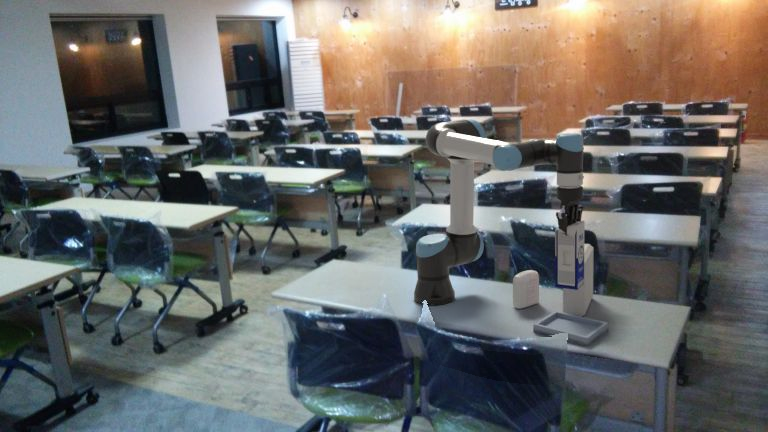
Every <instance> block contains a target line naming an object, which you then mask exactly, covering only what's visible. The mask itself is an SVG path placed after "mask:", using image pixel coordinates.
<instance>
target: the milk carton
mask: <svg viewBox="0 0 768 432" xmlns="http://www.w3.org/2000/svg"><path fill="white" fill-rule="evenodd" d="M585 223H586V222H585V220H581V221H578V222H576V223H573V224H572V225H569V226H568V227H567V236H566V235H565V234H563V233H565V232H563V231H562V230H561V229H559V227H557V228H555V230H554V233H555V234H554V239H555V240H554V242H555V243H554V247H555V248H554V249H555V250H554V251H555V253H554V255H555V256H554V257H555V258H554V259H555V261H554V262H555V264H554V265H555V266H554V270H555V272H554V273H555V276H554V277H555V283H554V286H555V288H557V289H558V288H561V289H563V288H566V289H574V290H578V289H579V288H580V287H581V286H582V285H583V284H584V244H585V225H586V224H585ZM562 232H563V233H562Z"/></svg>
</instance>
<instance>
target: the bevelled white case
mask: <svg viewBox="0 0 768 432" xmlns="http://www.w3.org/2000/svg"><path fill="white" fill-rule="evenodd" d="M594 249H595V248H594V246H592V245H591V244H590V243H584V284H583V285H582V286H581V287H580V288H579V289H578V290H574V289H566V288H562V312H563V313H567V314H572V315H576V316H580V317H584V316H585V315H586V314H587V313H586V312H587V310H588V308H589V306H590V303H591V301H592V299H593V297H594V251H595V250H594Z"/></svg>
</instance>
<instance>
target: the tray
mask: <svg viewBox="0 0 768 432" xmlns="http://www.w3.org/2000/svg"><path fill="white" fill-rule="evenodd" d="M532 325H533V327H532V328H533V329H532V331H533V333H537V334H540V335H544V336H547V335H555V334H559V333H568V340H569V341H568V342H570V341H573V342H572V343H574V342H575V344H578V345H582V346H586V347H588V346H589V345H591V344H592V343H594V341H596V340H598V338H600V337H602V335H604V334H605V333H607V332H608V331H609V322H607V321H602V320H598V319H593V318H588V317H584V316H582V317H580V316H576V315H572V314H567V313H563V311H558V310H554V311H553V312H551V313H549V314H548V315H546V316H544V317H543V318H541V319H540V320H539V321H537V322H535V323H533V324H532Z"/></svg>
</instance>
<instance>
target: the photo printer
mask: <svg viewBox="0 0 768 432" xmlns="http://www.w3.org/2000/svg"><path fill="white" fill-rule="evenodd" d="M539 301H540V275H539V273H538V272H537V271H536V270H533V269H529V270H524V271H521V272H519V273H517V274H515V275H514V277H513V279H512V306H513V307H514V308H515V309H524V308H526V307H527V308H528V307H530V306H533V305H537V304H539Z"/></svg>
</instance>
